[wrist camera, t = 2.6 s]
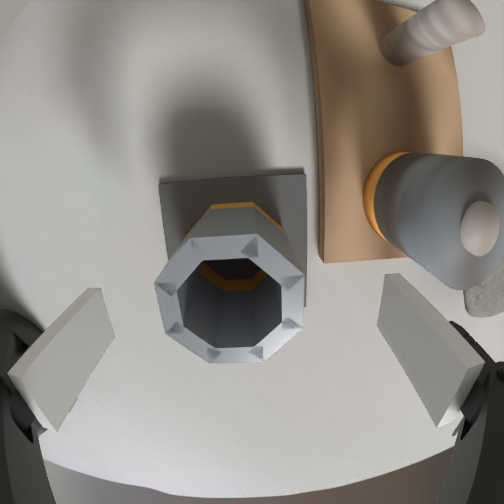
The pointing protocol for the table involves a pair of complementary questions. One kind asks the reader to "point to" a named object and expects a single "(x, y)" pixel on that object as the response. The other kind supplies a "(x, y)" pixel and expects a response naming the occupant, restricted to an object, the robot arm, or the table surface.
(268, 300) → the sleeve
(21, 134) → the table surface
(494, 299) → the stone
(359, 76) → the pin board
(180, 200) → the pad
